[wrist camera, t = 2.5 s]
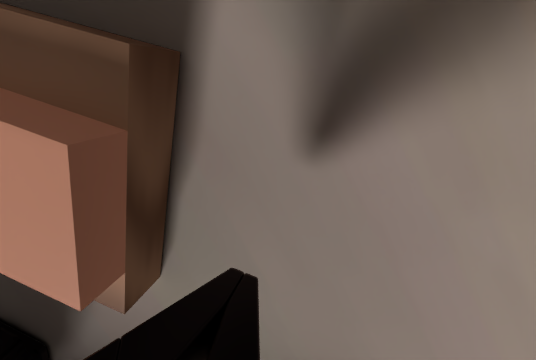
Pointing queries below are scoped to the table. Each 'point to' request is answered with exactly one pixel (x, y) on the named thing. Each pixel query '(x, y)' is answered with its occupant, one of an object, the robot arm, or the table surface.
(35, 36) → the plate
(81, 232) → the block
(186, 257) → the table surface
